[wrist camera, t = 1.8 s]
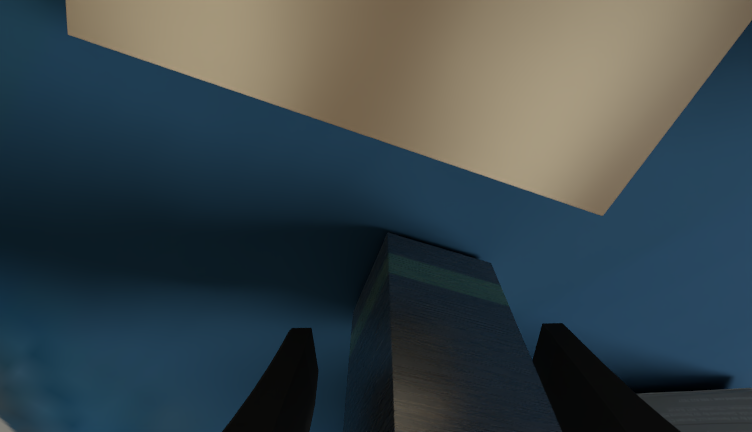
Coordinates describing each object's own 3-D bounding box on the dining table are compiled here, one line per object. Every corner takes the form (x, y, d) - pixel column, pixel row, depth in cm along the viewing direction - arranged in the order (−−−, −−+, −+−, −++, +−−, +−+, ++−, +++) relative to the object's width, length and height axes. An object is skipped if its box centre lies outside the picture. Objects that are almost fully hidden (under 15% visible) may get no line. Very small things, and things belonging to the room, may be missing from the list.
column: (491, 263, 14) (580, 476, 8) (444, 336, 15) (487, 552, 9) (387, 232, 13) (395, 438, 7) (353, 312, 15) (334, 528, 9)
